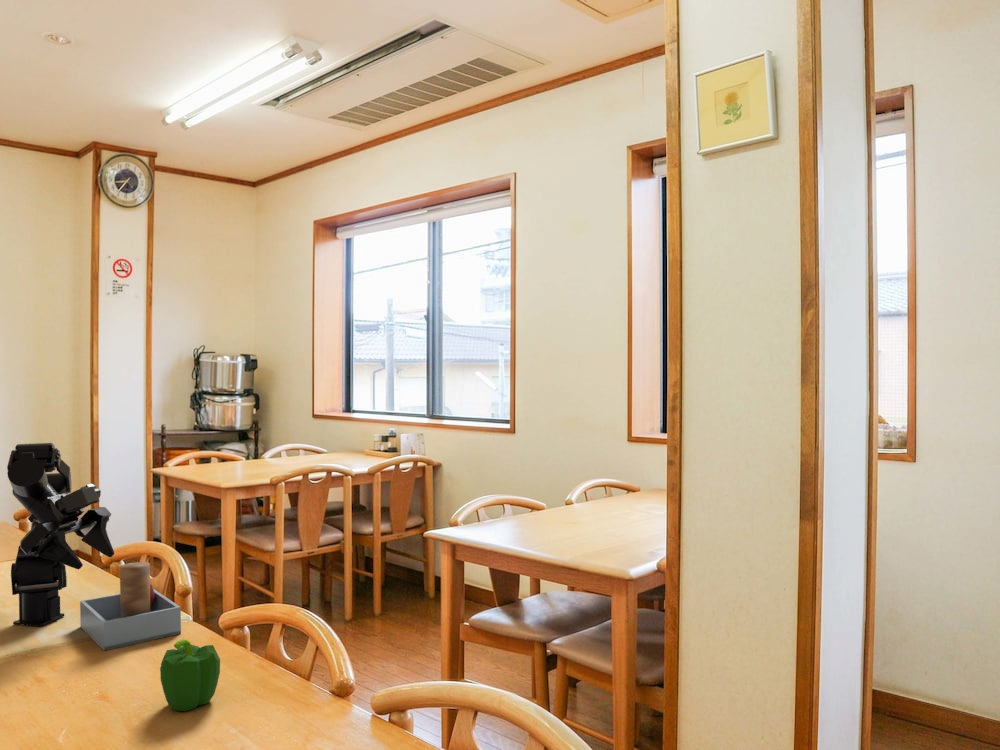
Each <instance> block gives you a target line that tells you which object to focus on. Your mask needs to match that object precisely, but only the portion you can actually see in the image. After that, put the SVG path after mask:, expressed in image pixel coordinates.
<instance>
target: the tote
mask: <svg viewBox="0 0 1000 750" xmlns="http://www.w3.org/2000/svg"><path fill="white" fill-rule="evenodd" d="M153 590H154V594H155V599H154V602H153V604H152V606H151V607H150V612H149V613H144V614H139V615H134V616H129V617H124V618H121V607H120V593H117V594H112V595H111V594H110V595H105V596H99V597H95V598H90V599H84V600H80V601H79V605H80V607H79V608H80V609H79V612H80V613H79V614H80V615H79V616H80V621H79V623H80V628H81V629H82V630H83V631H84V632H85V633H86V634H87V635H88V636H89V637H90V638H91V639H92V640H93V641H94V642H95V643H96V644H97V645H98V646H99V647H100V648H101V650H103V651H110V650H114V649H118V648H123V647H129V646H133V645H136V644H141V643H145V642H149V641H154V640H159V639H164V638H167V637H172V636H173V637H174V636H177V635H182V617H181V616H182V614H181V613H182V612H181V606H180V605H178V604H177V603H175V602H173V601H172V600H171V599H169V598H168V597H166V596H165V595H163V593H160V592H159V591H157V590H156V589H154V588H153Z"/></svg>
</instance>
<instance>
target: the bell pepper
mask: <svg viewBox="0 0 1000 750" xmlns="http://www.w3.org/2000/svg"><path fill="white" fill-rule="evenodd" d="M173 646H174V648H175V649H174V648H173V649H166V651H165V652H164V655H163V658H162V661H161V663H160V668H159V669H160V671H159V672H160V683H161V687H162V690H163V694H164V697H165V700H166V702H167V705H168V706H169V708H170V709H171V710H174V711H176V712H186V711H189V710H193V709H195V708H197V706H200V705H207V704H209V702H210V701H211V699H213V697H214V695H215V693H216V689H217V686H218V682H219V678H220V674H221V658H220V655H218V651H217V649H216V648H215V646H214V644H210V645H204V646H202V647H199V645H194V644H191V642H190V640H187V639H180V640H178V641H176V642H175V643H174V645H173Z"/></svg>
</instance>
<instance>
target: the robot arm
mask: <svg viewBox="0 0 1000 750" xmlns="http://www.w3.org/2000/svg"><path fill="white" fill-rule="evenodd" d="M14 448H15V449H13V450H11V451H10V455H9V459H8V462H7V467H6V468H7V478H8V480H9V483H10V486H11V487H12V495H13V496H14V497H15V499H16V500H17V501H18V502H19V503H20V504H21V505H22V506H23V507H24V508H25V510H26V511H27V512H28V514H30V516H29V517H27V520H28V521H29V522H30V523H31V528H30V530H28V532H27V533H26V534H25V535H24V537H22V538H21V540H20V544H19V545H18V548H17V549H18V550H17V554H16V557H15V562H12V563H11V568H10V582H11V595H12V596H15V595H18V615H19V617H18V619H17V620H14V621H13V622H12V625H13V624H14V626H15V625H16V626H32V627H33V626H35V627H42V626H44V625H48V624H49V623H52V622H55V621H56V620H58V619H61V618H63V617H65V613H63V612H62V613H61V596H60V595H59V591H61V590H63V589H65V588H67V586H68V580H67V578H68V577H67V576H68V575H67V569H66V567H70V568H72V569H75V570H80V569H81V568H83V566H84V564H83V563H82V561H81V559H80V558H79V557H78V555H77V554H76V552H74V550H73V549H72V548H71V546H70V545H69V543H67V541H66V535H67V534H72V533H75V535H76V536H78V537H80V538H81V541H82V542H83V543H84V544H86V545H88V546H89V547H91V548H93V549H94V550H96V551H98V552H100V553H101V554H102V555H104V556H106V557H108V558H112V557H114V555H115V551H114V547H113V546H112V543H111V541H110V538H109V535H108V532H107V524H108V523H109V522H110V517H111V516H112V513H111V512H110V511H109V509H108V508H106V506H98V507H95V508H91V509H88V510H86V512H85V510H84V509H85V508H87V507H89V506H91V505H93V504H97V503H99V502H100V497H101V495H102V494H101V493H102V491H101V489H100V488H98V487H97V485H94V484H93V483H89V484H85V486H82V487H80V488H79V489H77V490H74V491H72V474H71V473H72V472H71V467H70V466H69V465H68V463H66V462H65V461H64V460H63V459H62V454H61V451H60V450H59V449H58V448H56V447H55V444H54V443H53V442H43V443H42V442H39V443H38V442H36V443H35V442H34V443H18V444H16V445H15V447H14ZM54 471H57V472H58V473H57V472H56V473H55V472H54ZM53 472H54V473H53ZM83 513H84V514H83ZM81 515H82V516H81ZM80 516H81V517H80ZM79 517H80V519H79Z"/></svg>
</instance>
